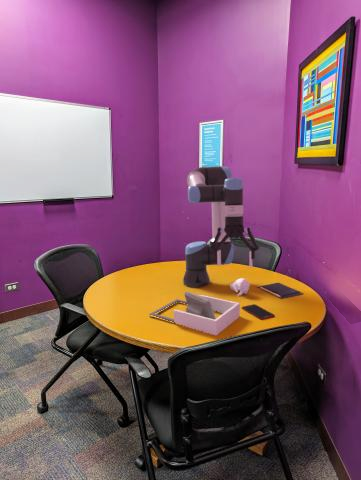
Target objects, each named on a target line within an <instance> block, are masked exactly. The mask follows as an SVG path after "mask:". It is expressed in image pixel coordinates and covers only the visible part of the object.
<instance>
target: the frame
mask: <svg viewBox="0 0 361 480" xmlns="http://www.w3.org/2000/svg"><path fill="white" fill-rule="evenodd" d="M176 302H182V303H185V304H187V301H186V300H183V299H178V298H176V299H175V300H173V301H171V302H169V303H167V304H165V305H164V306H162V307H159V308H158V309H156V310H154V311H153V312H151V313H149V315H153V316H156V317H159V318H162V319H165V320H168V321H172V322H174V318H171V317H169V316H164V315H160V314H155V313H157V312H159V311H161V310H163V309H165V308H166V307H168V306H170V305H172V304H174V303H176ZM149 315H148V316H149Z"/></svg>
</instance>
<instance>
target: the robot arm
mask: <svg viewBox="0 0 361 480" xmlns="http://www.w3.org/2000/svg"><path fill="white" fill-rule="evenodd" d="M232 175H233V174H232V171H231V169H230V167H228V166H222V165H221V166H200V167H197V168H195V169H193V170H191V171H190V172H189V173H188V175H187V176H186V183H187V186H188V188H187V199H188V202H189V203H191V204H192V203H194V204H202V203H211V227H212V228H211V229H212V238H210V240H209V244H207V242H206V241H193V242H190V243H188V244H187V245H186V246H185V253H184V255H185V271H184V272H185V273H184V275H183V278H182V279H183V280H182V283H183V286H185V285H187V286H186V287H188V286H190V287H189V288H203V286H204V287H208V286H209V285H210V284H211V279H210V275H209V273H208V270H207V266H217V267H221V265H222V266H225V265H230V264H232V262H233V260H234V254H235V246H234V243H232V241H231V239H241V241H242V242H243V243H244V244H245V245H246V246H247V248H248V249H249V250H250V251H248V252H249V254H248V257H249V260H248V261H249V262H248V263H249V265H248V266H249V268H253V260H255V258H256V251H258V250H259V249H260V246H259V244H258V242H257V239H256V237H255V236H254V234H253V232H252V227H250V226H249V227H244V216H243V215H244V182H243V178H240V177H233V176H232ZM244 233H246V234H247V235H248V237H249V239H250V241H251V242H250V241H249V240H248V239H247V238H246V237H245V235H244ZM251 243H252V244H251Z"/></svg>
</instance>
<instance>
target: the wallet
mask: <svg viewBox="0 0 361 480" xmlns="http://www.w3.org/2000/svg"><path fill="white" fill-rule="evenodd" d="M256 288H257V289H259V290H261V291H263V292H266V293H268V294H269V295H271V296H274V297H275V298H278V299H279V300H284V299H289V298H295V297H298V296H303V295H304V293H303V292H301V291H300V290H297V289H295V288H292V287H290V286H288V285H285V284H283V283H281V282H274V283H270V284H264V285H263V284H262V285H260V286H256Z"/></svg>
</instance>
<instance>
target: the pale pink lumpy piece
mask: <svg viewBox="0 0 361 480" xmlns="http://www.w3.org/2000/svg"><path fill="white" fill-rule="evenodd" d="M250 286H251V284H250V282H249V280H247V279H245V277H244V278H243V277H242V278H238V279H236V280H235V281H233V282H231V283H230V290H231V291H233V292H234V291H235V292H236V293H237V296H238V297H239V296H243V294H244V295H247V294H248V292H249V289H250ZM239 291H240V292H239Z"/></svg>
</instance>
